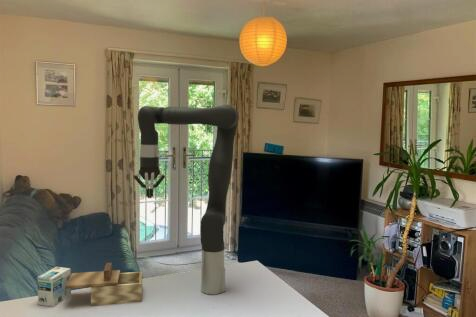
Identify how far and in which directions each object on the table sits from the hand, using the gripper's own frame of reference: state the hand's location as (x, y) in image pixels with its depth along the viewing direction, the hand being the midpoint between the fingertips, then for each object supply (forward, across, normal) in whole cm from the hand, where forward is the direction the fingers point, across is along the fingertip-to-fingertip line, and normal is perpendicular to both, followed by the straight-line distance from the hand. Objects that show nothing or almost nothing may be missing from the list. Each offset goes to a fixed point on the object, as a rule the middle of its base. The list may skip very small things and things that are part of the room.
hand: (149, 197), depth 152 cm
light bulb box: (+37, +35, +7) cm, 52 cm away
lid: (+30, +21, +9) cm, 37 cm away
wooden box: (+37, +12, +9) cm, 40 cm away
